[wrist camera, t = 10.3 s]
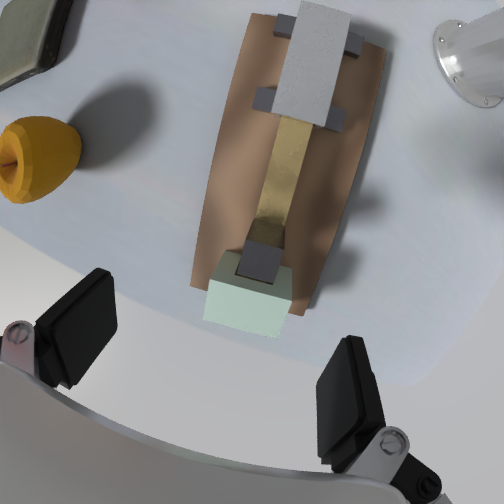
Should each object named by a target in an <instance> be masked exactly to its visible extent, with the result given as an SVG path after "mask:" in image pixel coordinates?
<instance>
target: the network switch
mask: <svg viewBox="0 0 504 504" xmlns="http://www.w3.org/2000/svg"><path fill="white" fill-rule="evenodd" d="M71 3H72V0H12V1H11V2H10V3H8V4H7V5H6V6H4V8H3V11H2V14H1V17H0V92H1V91H3V90H5V89H6V88H8V87H10V86H12V85H14V84H17V83H19V82H21V81H23V80H25V79H27V78H29V77H32V76H34V75H36V74H40V73H43V72H45V71H47V70H48V69H50V68H51V66H52V64H53V63H54V61H55V60H56V56H57V52H58V47H59V43H60V39H61V35H62V31H63V26H64V23H65V20H66V16H67V13H68V10H69V7H70V5H71Z"/></svg>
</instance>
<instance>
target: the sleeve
mask: <svg viewBox="0 0 504 504" xmlns="http://www.w3.org/2000/svg"><path fill="white" fill-rule="evenodd" d="M350 20H351V14H349V13H345V12H342V11H339V10H336V9H333V8H329V7H326V6H322V5H318V4H314V3H310V2H306V1H301V4H300V8H299V11H298V15H297V17H293V16H288V15H283V14H278V16H277V19H276V22H275V26H274V29H273V35H274V36H275V37H280V38H285V39H289V40H290V43H289V47H288V51H287V54H286V58H285V62H284V65H283V69H282V73H281V76H280V80H279V84H278V88H277V90H274V89H269V88H265V87H260V86H257V90H256V94H255V97H254V101H253V105H252V109H253V110H257V111H261V112H266V113H270V114H272V115H273V117H275V118H279V119H281V116H282V115H283V116H286V117H290V118H294V119H298V120H301V121H305V122H308V123H312V124H313V126H312V128H315V129H319V128H324V129H327V130H330V131H333V132H336V133H341V132H342V128H343V124H344V121H345V117H346V113H347V111H346V110H343V109H341V108H338V107H335V106H332V105H330V103H331V99H332V96H333V92H334V88H335V84H336V80H337V76H338V72H339V68H340V63H341V59H342V55H346V56H349V57H352V58H355V59H357V58H358V57H359V56H360V55H361V50H362V46H363V41H364V37H362V36H359V35H356V34H353V33H350V32H348V29H349V24H350Z"/></svg>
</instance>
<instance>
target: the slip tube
mask: <svg viewBox="0 0 504 504" xmlns="http://www.w3.org/2000/svg"><path fill="white" fill-rule="evenodd" d="M312 126H313V124H312V123H308V122H305V121H301V120H298V119H294V118H290V117H286V116H283V115H282V116H281V120H280V124H279V128H278V132H277V135H276V139H275V143H274V147H273V151H272V155H271V158H270V162H269V166H268V170H267V174H266V178H265V182H264V185H263V189H262V193H261V197H260V201H259V205H258V209H257V213H256V216H255V218H254V219H253V222H252V224H251V227H250V229H249V232H248V234H247V236H246V239H245V243H244V247H243V251H242V255H241V259H240V263H239V267H238V271H237V274H239V275H240V277H244V278H247V279H251V280H255V281H259V282H262V283H266V284H267V282H269V283H273V284H274V281H275V278H276V275H277V272H278V269H279V266H280V263H281V259H282V256H283V253H284V249H285V227H284V225H285V222H286V218H287V215H288V211H289V208H290V205H291V201H292V198H293V194H294V191H295V187H296V184H297V180H298V177H299V173H300V170H301V166H302V163H303V159H304V155H305V152H306V148H307V145H308V141H309V137H310V134H311V130H312Z"/></svg>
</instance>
